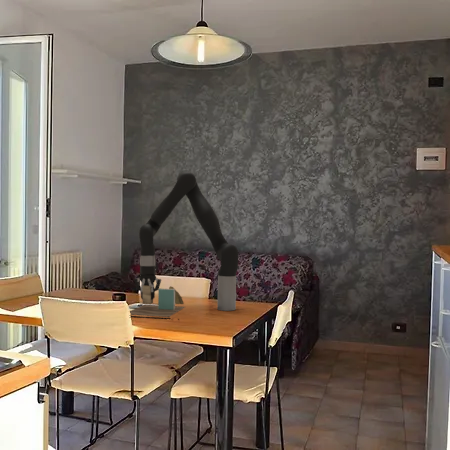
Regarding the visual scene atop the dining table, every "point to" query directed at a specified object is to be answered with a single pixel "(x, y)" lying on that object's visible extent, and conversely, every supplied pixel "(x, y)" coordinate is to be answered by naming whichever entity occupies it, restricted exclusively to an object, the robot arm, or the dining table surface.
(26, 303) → the dining table surface
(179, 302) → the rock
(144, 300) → the block
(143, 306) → the board
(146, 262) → the robot arm
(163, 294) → the tile
